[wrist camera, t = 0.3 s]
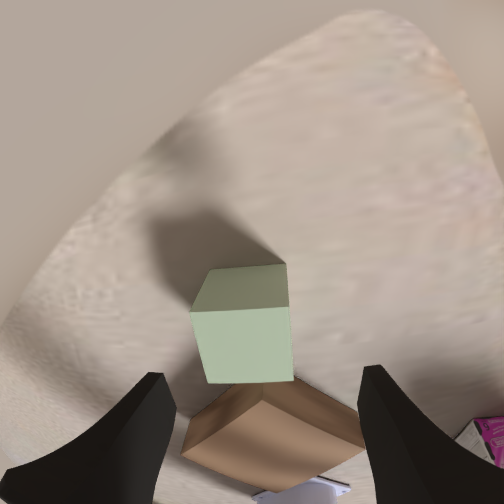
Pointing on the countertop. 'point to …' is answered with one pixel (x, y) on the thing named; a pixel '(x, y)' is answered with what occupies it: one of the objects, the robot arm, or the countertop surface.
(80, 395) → the countertop surface
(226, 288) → the sage block
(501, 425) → the candy bar box
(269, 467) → the walnut block
